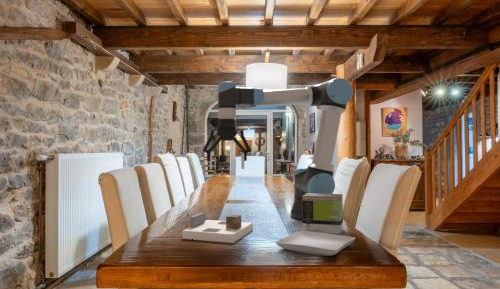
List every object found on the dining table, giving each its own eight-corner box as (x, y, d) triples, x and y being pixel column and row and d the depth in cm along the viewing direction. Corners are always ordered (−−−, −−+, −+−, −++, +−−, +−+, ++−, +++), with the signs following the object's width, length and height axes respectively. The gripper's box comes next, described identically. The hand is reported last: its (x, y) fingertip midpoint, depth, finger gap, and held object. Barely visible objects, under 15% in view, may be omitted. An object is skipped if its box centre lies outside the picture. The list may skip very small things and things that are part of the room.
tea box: (343, 229, 166) (343, 193, 166) (340, 235, 157) (340, 196, 157) (306, 227, 171) (306, 192, 171) (301, 232, 162) (301, 195, 162)
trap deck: (252, 230, 165) (252, 212, 165) (233, 242, 144) (233, 223, 144) (207, 226, 171) (207, 210, 171) (182, 238, 151) (182, 219, 151)
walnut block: (241, 226, 157) (241, 215, 157) (237, 229, 153) (237, 217, 153) (230, 226, 159) (230, 214, 159) (226, 228, 154) (226, 216, 154)
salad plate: (300, 238, 152) (300, 229, 152) (356, 246, 141) (356, 236, 141) (274, 251, 134) (274, 241, 134) (336, 261, 123) (336, 250, 123)
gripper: (254, 119, 178) (253, 168, 178) (196, 118, 173) (196, 168, 173) (257, 118, 171) (257, 169, 171) (197, 117, 166) (197, 169, 166)
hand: (226, 169), depth 172 cm, fingers open, 13 cm apart
